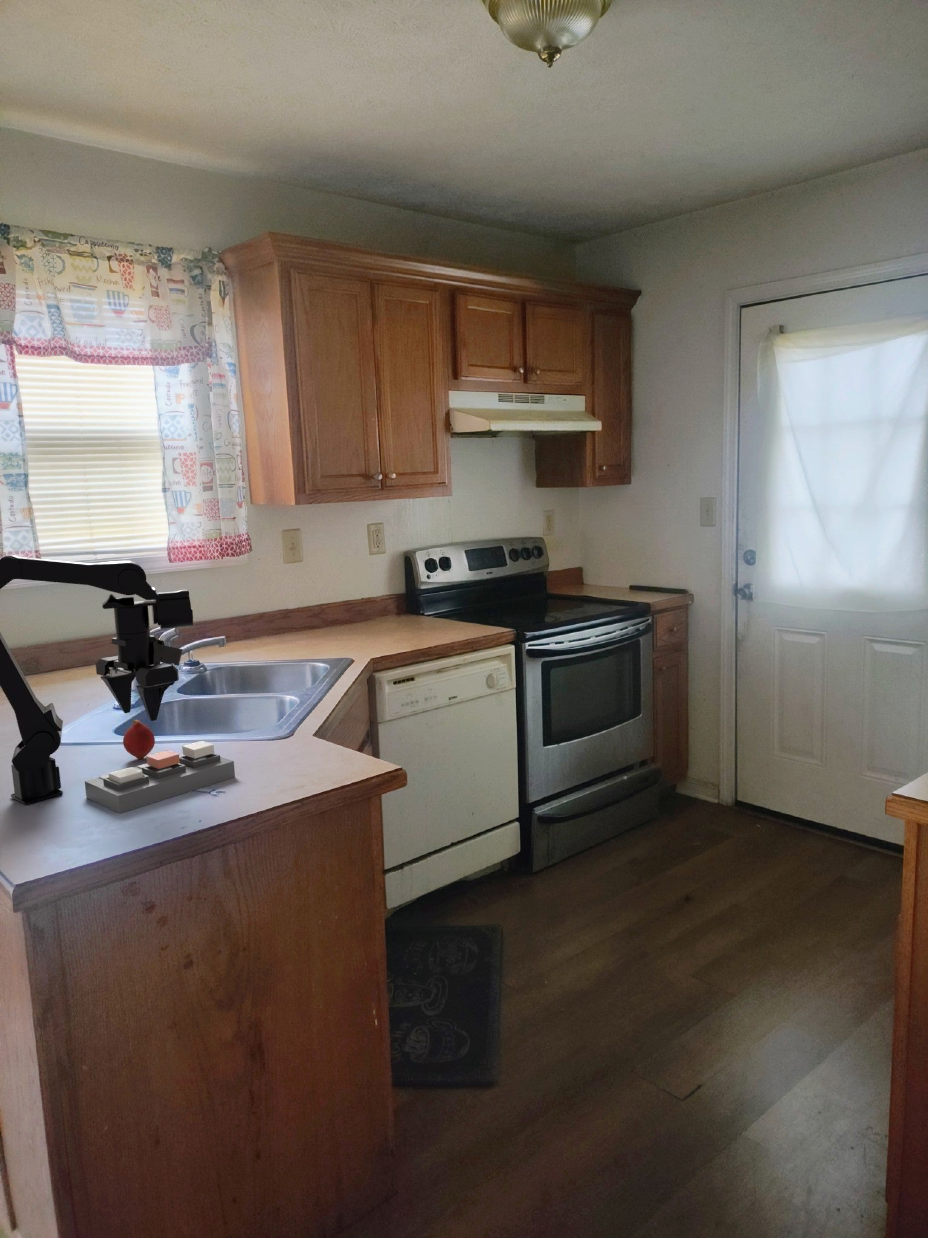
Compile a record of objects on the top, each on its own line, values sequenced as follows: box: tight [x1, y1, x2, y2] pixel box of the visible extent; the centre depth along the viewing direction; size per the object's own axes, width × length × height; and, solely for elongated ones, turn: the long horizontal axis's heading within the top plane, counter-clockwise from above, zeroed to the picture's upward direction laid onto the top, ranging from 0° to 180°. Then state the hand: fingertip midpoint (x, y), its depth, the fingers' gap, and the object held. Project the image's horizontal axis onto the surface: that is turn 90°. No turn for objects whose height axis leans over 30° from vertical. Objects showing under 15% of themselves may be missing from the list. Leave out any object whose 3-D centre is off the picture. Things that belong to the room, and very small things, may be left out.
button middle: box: [145, 750, 180, 769], centre depth 152 cm, size 4×4×2 cm
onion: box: [122, 719, 156, 760], centre depth 169 cm, size 6×6×8 cm
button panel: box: [84, 752, 236, 814], centre depth 153 cm, size 22×12×4 cm, turn 138°
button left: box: [108, 766, 143, 784], centre depth 147 cm, size 4×4×2 cm
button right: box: [181, 740, 215, 758], centre depth 157 cm, size 4×4×2 cm
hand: (140, 716), depth 156 cm, fingers open, 9 cm apart
